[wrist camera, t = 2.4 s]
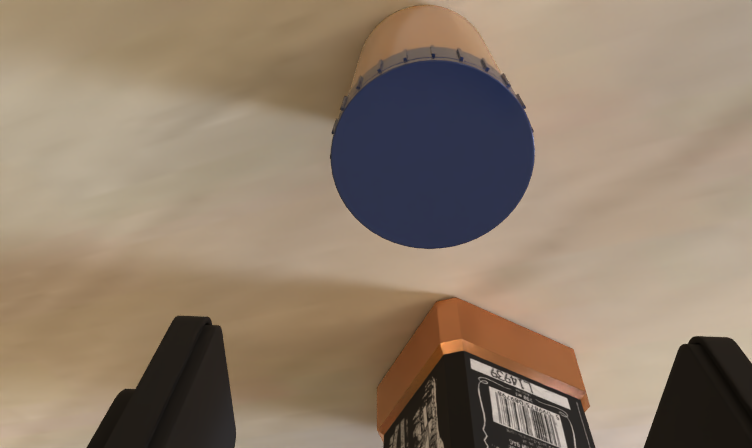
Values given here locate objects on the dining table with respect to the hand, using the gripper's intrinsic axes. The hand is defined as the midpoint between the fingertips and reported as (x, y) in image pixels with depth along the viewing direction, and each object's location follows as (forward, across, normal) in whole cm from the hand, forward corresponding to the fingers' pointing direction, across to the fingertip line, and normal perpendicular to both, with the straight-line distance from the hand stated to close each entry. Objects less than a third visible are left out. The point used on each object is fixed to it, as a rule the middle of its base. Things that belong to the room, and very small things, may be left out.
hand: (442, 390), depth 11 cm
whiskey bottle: (+22, -5, +20) cm, 30 cm away
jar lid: (+11, 0, 0) cm, 11 cm away
